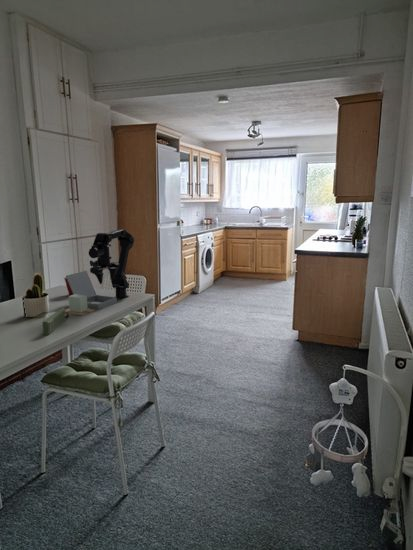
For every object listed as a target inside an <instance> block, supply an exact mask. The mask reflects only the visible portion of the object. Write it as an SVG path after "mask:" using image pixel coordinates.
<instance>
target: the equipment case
mask: <svg viewBox="0 0 413 550" xmlns="http://www.w3.org/2000/svg"><path fill="white" fill-rule="evenodd" d="M65 277H66V278H67V281H68V283H69V286H70V288H71V290H72V293H73V295H74V294H78V295H86V296H87V307H88V308H92V309H96V311H98V310H101V309H105V308H106V307H109V306H111V305H114V304H116V303H117V302H118V298H116V296H108V295H102V294H101V295H100V294H97V292H96V290H95V288H94V285H93V284H92V281H91V278H90V275H89V274H88V271H87V270H83V271H80V272H76V273H72V274H69V275H67V274H66V275H65ZM94 301H102V302H100V303H92V302H94Z"/></svg>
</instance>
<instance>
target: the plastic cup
mask: <svg viewBox="0 0 413 550" xmlns="http://www.w3.org/2000/svg"><path fill="white" fill-rule="evenodd" d="M63 279H64V281H65V285H66V288H67V292H68V296H71V295H73V293H72V290H71V288H70V286H69V283H68V281H67V278H66V276H63Z"/></svg>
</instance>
